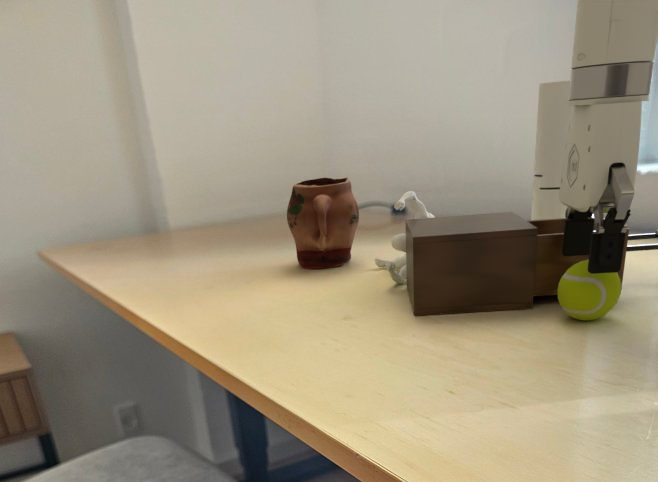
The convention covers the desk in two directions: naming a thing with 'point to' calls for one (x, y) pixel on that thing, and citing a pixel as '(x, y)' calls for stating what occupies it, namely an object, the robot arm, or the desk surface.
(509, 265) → the cabinet
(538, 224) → the drawer
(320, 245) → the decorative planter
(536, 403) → the desk surface
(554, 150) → the cylindrical container
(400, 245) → the person figurine
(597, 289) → the tennis ball
